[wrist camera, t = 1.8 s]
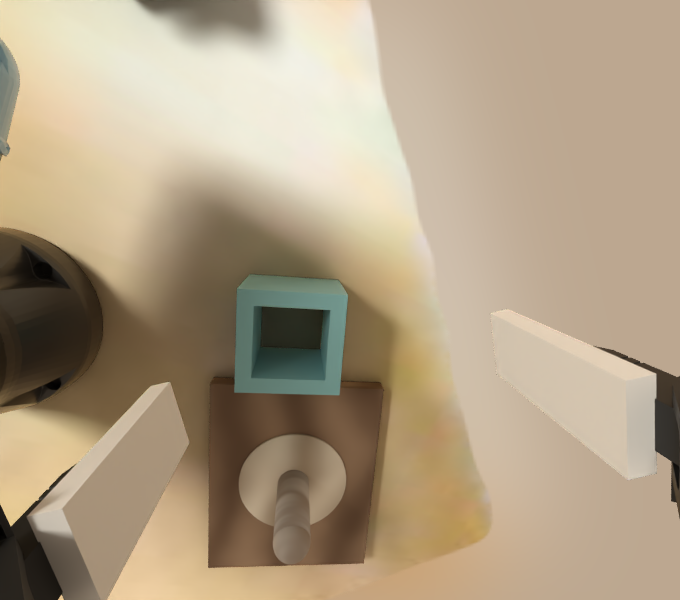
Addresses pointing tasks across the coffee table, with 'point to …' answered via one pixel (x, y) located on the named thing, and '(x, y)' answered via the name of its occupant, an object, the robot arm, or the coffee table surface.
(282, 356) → the teal ring
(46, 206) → the coffee table surface
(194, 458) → the coffee table surface
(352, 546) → the post stand
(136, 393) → the coffee table surface
